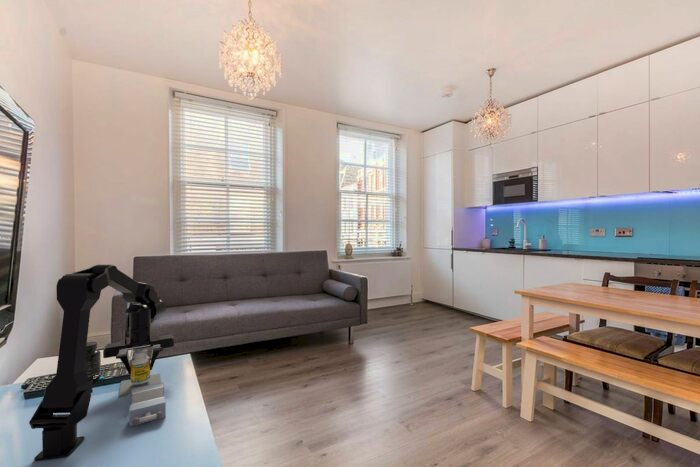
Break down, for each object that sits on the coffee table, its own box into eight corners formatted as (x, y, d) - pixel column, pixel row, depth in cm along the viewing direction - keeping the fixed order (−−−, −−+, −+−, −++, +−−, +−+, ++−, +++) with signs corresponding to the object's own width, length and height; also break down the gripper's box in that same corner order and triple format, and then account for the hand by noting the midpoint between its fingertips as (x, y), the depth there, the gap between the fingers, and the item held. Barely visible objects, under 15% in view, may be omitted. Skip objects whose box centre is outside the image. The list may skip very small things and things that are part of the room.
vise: (166, 422, 84) (166, 407, 84) (129, 432, 80) (128, 416, 80) (163, 394, 98) (163, 381, 98) (132, 402, 94) (131, 388, 94)
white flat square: (161, 387, 102) (161, 386, 102) (118, 397, 96) (118, 395, 96) (160, 374, 112) (160, 373, 112) (121, 382, 106) (121, 381, 106)
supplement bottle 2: (148, 375, 108) (148, 347, 108) (152, 381, 104) (152, 351, 104) (128, 381, 104) (128, 351, 104) (132, 386, 100) (132, 356, 100)
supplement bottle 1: (69, 382, 106) (69, 346, 105) (91, 373, 112) (91, 339, 112) (84, 385, 104) (84, 348, 103) (105, 376, 110) (105, 341, 110)
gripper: (171, 314, 115) (172, 357, 116) (106, 322, 106) (107, 369, 106) (173, 321, 106) (174, 368, 106) (102, 331, 96) (103, 383, 96)
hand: (140, 371), depth 104 cm, fingers closed on supplement bottle 2, 5 cm apart
